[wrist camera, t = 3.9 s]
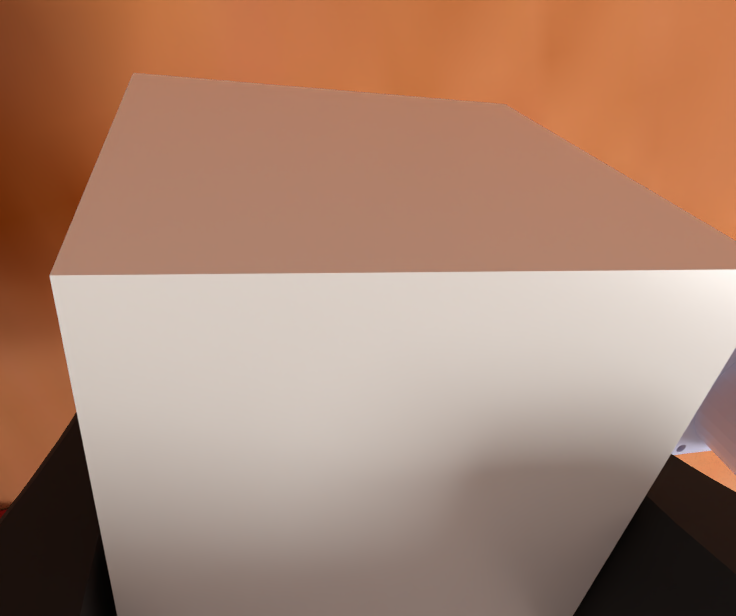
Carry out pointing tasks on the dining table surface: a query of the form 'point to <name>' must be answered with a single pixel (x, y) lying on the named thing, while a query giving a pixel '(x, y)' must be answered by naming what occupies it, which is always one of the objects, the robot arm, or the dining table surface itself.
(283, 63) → the dining table surface
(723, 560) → the robot arm
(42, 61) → the dining table surface
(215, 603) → the cream rectangular prism
